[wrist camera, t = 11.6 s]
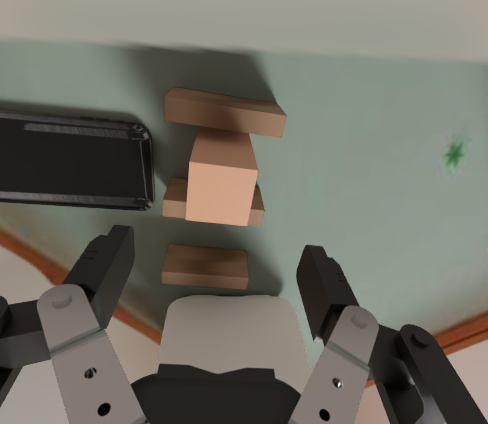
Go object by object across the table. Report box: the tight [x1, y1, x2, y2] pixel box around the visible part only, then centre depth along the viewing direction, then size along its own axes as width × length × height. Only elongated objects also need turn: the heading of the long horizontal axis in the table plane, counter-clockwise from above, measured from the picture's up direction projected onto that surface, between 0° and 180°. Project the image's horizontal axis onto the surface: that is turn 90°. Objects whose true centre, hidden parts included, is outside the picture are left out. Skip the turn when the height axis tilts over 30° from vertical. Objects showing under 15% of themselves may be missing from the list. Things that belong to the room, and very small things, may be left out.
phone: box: [0, 110, 155, 211], centre depth 24 cm, size 8×1×15 cm
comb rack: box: [161, 87, 287, 289], centre depth 24 cm, size 8×16×4 cm, turn 170°
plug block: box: [186, 126, 258, 226], centre depth 21 cm, size 4×4×8 cm
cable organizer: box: [155, 295, 312, 394], centre depth 31 cm, size 15×11×12 cm
